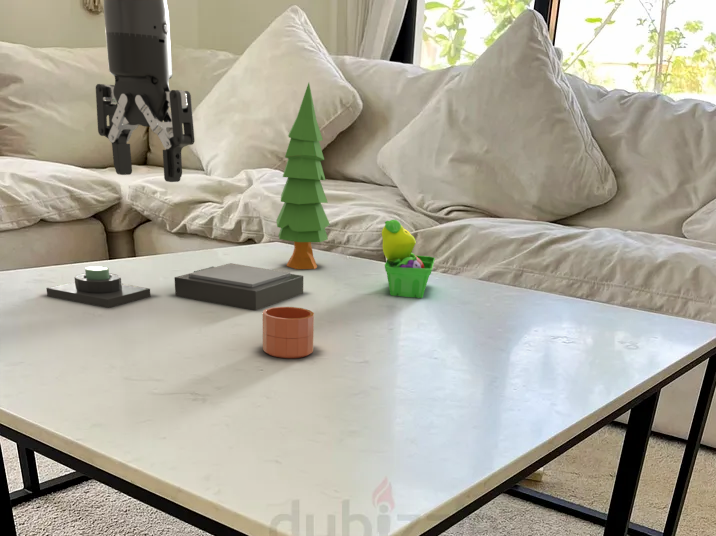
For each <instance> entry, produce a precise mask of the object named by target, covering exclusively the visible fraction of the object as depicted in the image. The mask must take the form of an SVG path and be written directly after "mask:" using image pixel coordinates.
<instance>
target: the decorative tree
mask: <svg viewBox="0 0 716 536" xmlns="http://www.w3.org/2000/svg"><path fill="white" fill-rule="evenodd" d="M287 137H288V138H290V139H289V143H288V146H287V149H286V152H285V154H284V155H285V156H284V158H285V159H287V162H286V165H285V167H284V170H283V174H282V178H287V179H286V181H285V184H284V186H283V189H282V191H281V195H280V203H283V205H282V207H281V209H280V211H279V213H278V215H277V217H276V220H275V221H276V227H277V228H280V229H279V232H278V239H279V240H283V241H289V242H293V247H294V248H293V251H292V255H291V256H290V258H289V259H288V262H287V263H286V267H288V268H291V269H295V270H316V269H317V268H318V265H317V262H316V259H315V257H314V253H313V248H312V247H313V246H312V243H323V242H324V241H328V240H329V238H328V235H327V231H326V228H328V227H329V226H330V221H329V219H328V217H327V214H326V212H325V210H324V208H323V203H324V204H325V203H327V204H328V202H329V201H328V200H327V196H326V193H325V190H324V188H323V185H322V182H321V181H326V177H325V173H324V170H323V169H324V168H323V166H322V161H325V157H324V154H323V150H322V147H321V143H320V142H321V141H323V140H324V139H323V136H322V133H321V129H320V127H319V123H318V121H317V116H316V110H315V106H314V100H313V95H312V90H311V85H310V82H308V83H307V85H306V89H305V91H304V95H303V97H302V101H301V104H300V107H299V110H298V113H297V115H296V118H295V120H294V122H293V125H292V126H291V128H290V130H289V133H288V135H287Z"/></svg>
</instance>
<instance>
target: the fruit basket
mask: <svg viewBox="0 0 716 536" xmlns="http://www.w3.org/2000/svg"><path fill="white" fill-rule="evenodd" d="M381 238H382V252H383V255H384V257H385V258H386V261H385V263H384V270H385V272H386V277H387V284H388V289H389V294H390V296H394V297H405V298H418V299H423V297H424V295H425V292H426V291H425V290H426V288H427V284H428V281H429V278H430V276H431V275H432V271H433V268H434V264H435V260H436V258H435V257H433V256H428V255H415V253H413V250H414V248H415V245H416V244H417V242H416V238H415V236H414V235H412V234H411V232H410V231H409V230H407V229H405V227H404V226H403V225H402V224H401V222H400V221H398V220H397V219H391V220H386V221H384V226H383V228H382V230H381Z"/></svg>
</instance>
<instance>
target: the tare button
mask: <svg viewBox="0 0 716 536" xmlns="http://www.w3.org/2000/svg"><path fill="white" fill-rule="evenodd" d="M84 272H85V273H86V279H91V280H105V279H110V276H109V273H110V268H109V267H106V266H101V265H100V266H97V265H96V266H95V265H93V266H87V267H85V268H84Z"/></svg>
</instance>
